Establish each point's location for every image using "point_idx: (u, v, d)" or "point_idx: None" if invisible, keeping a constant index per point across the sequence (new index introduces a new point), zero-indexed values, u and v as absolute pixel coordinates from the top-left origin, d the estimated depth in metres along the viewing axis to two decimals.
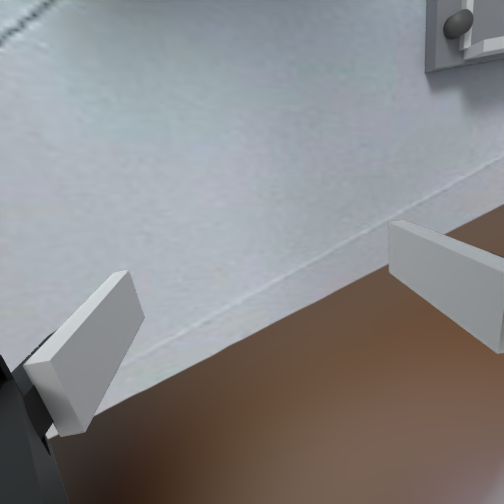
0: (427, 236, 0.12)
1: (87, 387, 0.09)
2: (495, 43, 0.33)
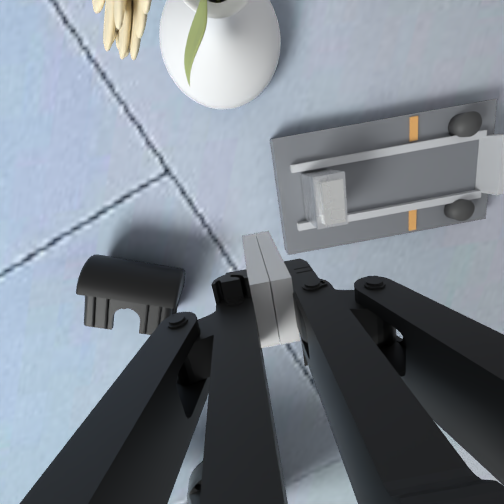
0: (264, 247, 0.14)
1: None
2: None
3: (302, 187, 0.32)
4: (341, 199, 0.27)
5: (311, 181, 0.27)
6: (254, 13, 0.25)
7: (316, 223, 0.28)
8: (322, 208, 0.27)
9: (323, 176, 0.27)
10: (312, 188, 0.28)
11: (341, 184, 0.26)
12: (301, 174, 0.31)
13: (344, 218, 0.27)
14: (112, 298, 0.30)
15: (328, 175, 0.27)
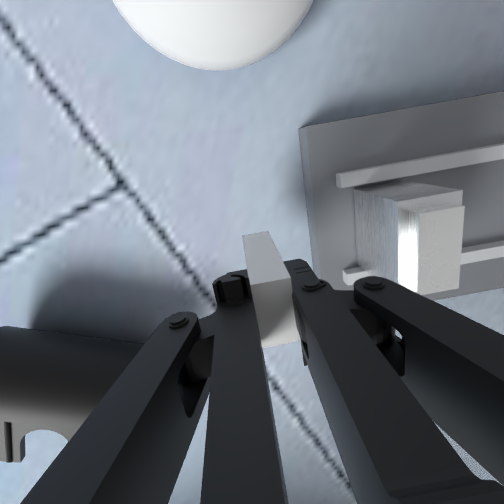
0: (263, 247, 0.14)
1: None
2: None
3: (356, 212, 0.18)
4: (455, 245, 0.13)
5: (390, 208, 0.14)
6: None
7: None
8: (413, 263, 0.14)
9: (419, 199, 0.13)
10: (391, 221, 0.14)
11: (460, 217, 0.13)
12: (356, 190, 0.17)
13: (456, 282, 0.14)
14: (12, 420, 0.16)
15: (429, 197, 0.13)
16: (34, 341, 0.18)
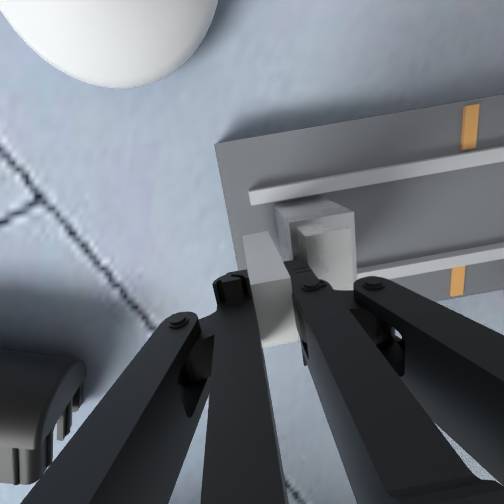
0: (263, 247, 0.14)
1: None
2: None
3: (277, 228, 0.18)
4: (346, 267, 0.13)
5: (287, 228, 0.14)
6: None
7: None
8: None
9: (310, 220, 0.13)
10: (289, 241, 0.14)
11: (347, 239, 0.13)
12: (274, 206, 0.17)
13: None
14: None
15: (320, 218, 0.13)
16: None
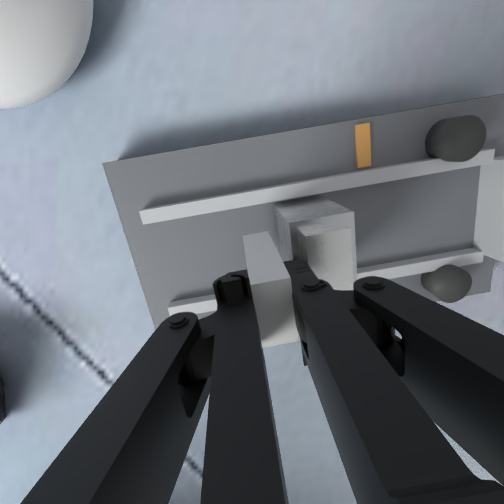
0: (263, 247, 0.14)
1: None
2: None
3: (277, 228, 0.18)
4: (346, 267, 0.13)
5: (287, 228, 0.14)
6: None
7: None
8: None
9: (310, 220, 0.13)
10: (289, 241, 0.14)
11: (347, 239, 0.13)
12: (274, 206, 0.17)
13: None
14: None
15: (320, 218, 0.13)
16: None
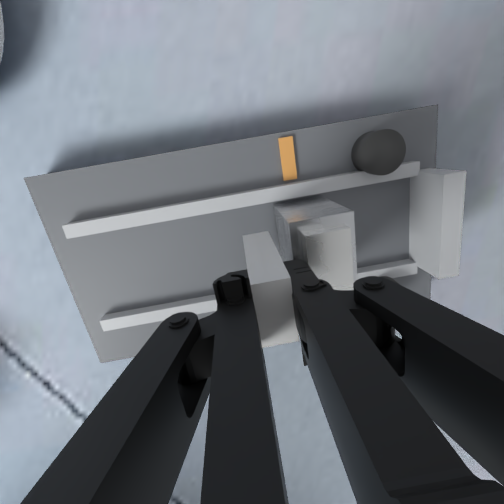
0: (263, 247, 0.14)
1: None
2: (449, 256, 0.17)
3: (277, 228, 0.18)
4: (346, 266, 0.13)
5: (287, 228, 0.14)
6: None
7: None
8: None
9: (310, 220, 0.13)
10: (289, 241, 0.14)
11: (347, 239, 0.13)
12: (274, 206, 0.17)
13: None
14: None
15: (320, 218, 0.13)
16: None
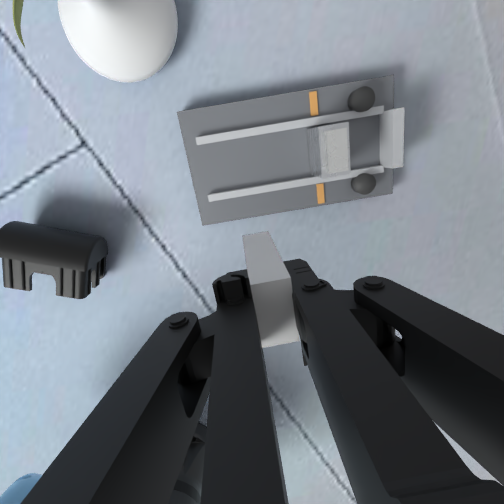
0: (263, 247, 0.14)
1: None
2: (397, 155, 0.32)
3: (308, 142, 0.33)
4: (344, 147, 0.28)
5: (316, 131, 0.29)
6: None
7: (320, 173, 0.30)
8: (326, 157, 0.29)
9: (328, 126, 0.28)
10: (317, 138, 0.29)
11: (345, 133, 0.28)
12: (307, 129, 0.33)
13: (347, 167, 0.29)
14: (25, 260, 0.32)
15: (333, 125, 0.28)
16: (36, 227, 0.34)
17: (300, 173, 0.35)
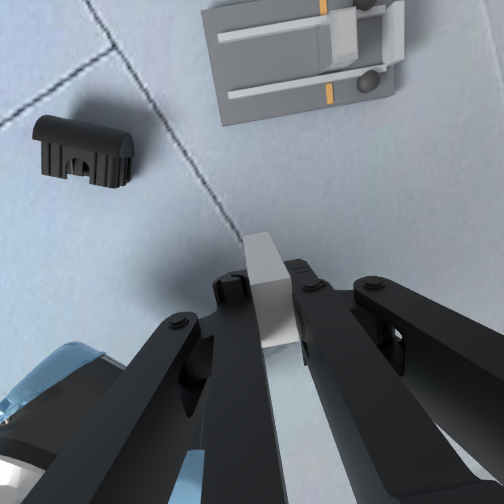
0: (263, 247, 0.14)
1: None
2: (399, 47, 0.35)
3: (318, 41, 0.37)
4: (352, 29, 0.32)
5: (327, 18, 0.33)
6: None
7: (331, 58, 0.34)
8: (337, 40, 0.32)
9: (338, 10, 0.32)
10: (328, 24, 0.33)
11: (353, 14, 0.32)
12: (317, 28, 0.36)
13: (355, 48, 0.33)
14: (63, 144, 0.35)
15: (342, 9, 0.32)
16: (71, 120, 0.37)
17: (311, 73, 0.38)
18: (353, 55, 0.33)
